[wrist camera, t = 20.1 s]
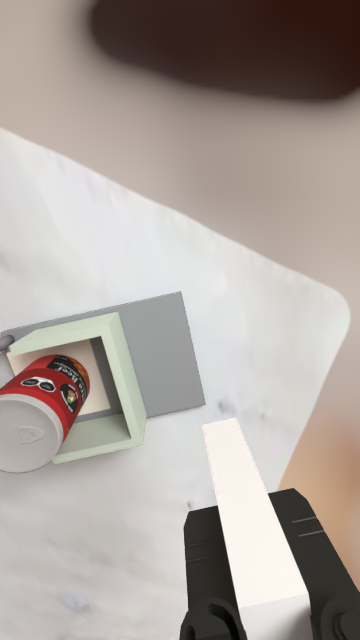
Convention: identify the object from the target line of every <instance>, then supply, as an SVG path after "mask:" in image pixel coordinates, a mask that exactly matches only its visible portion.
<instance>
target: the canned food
mask: <svg viewBox="0 0 360 640" xmlns="http://www.w3.org/2000/svg"><path fill="white" fill-rule="evenodd" d="M89 391H90V379H89V376H88V373H87V371H86V369H85V368H84V367H83V365H82V364H81V363H79V362H78V361H77V360H75V359H73V358H71V357H68V356H65V355H49V356H44V357H41V358H39V359H37V360H35V361H34V362H32V363H31V364H30V365H29V366H27V367H26V368H25V369H24V370H23V371H21V372H20V373H19V374H18V375H17V376H15V377H14V378H13V379H12V380H11V381H9V382H8V383H7V384H6V385H5V386H3V387H2V388H1V389H0V470H1V471H4V472H10V473H26V472H31V471H34V470H37V469H40V468H42V467H43V466H45V465H47V464H48V463H49V462H50V461H51V460H52V459H53V458H54V456H55V455H56V454H57V452H58V451H59V449H60V448H61V446H62V444H63V442H64V441H65V439H66V437H67V435H68V433H69V431H70V429H71V427H72V425H73V424H74V422H75V420H76V418H77V416H78V414H79V412H80V410H81V408H82V406H83V405H84V403H85V401H86V399H87V397H88V394H89Z"/></svg>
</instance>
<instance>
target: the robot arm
mask: <svg viewBox="0 0 360 640" xmlns="http://www.w3.org/2000/svg"><path fill="white" fill-rule="evenodd" d="M202 428H203V433H204V438H205V443H206V448H207V453H208V458H209V463H210V469H211V474H212V479H213V484H214V489H215V494H216V499H217V504H218V505H217V506H213V507H208V508H204V509H199V510H194V511H190V512H189V513H188V516H187V519H186V522H185V525H184V544H185V560H186V577H187V594H188V610H189V611H188V612H187V613H186V616H185V618H184V620H183V623H182V625H181V630H180V639H179V640H360V592H359V591H358V589H357V588H356V586H355V585H354V583H353V581H352V579H351V577H350V575H349V574H348V572H347V570H346V568H345V567H344V565H343V563H342V561H341V559H340V558H339V556H338V554H337V552H336V550H335V549H334V547H333V545H332V544H331V542H330V540H329V538H328V536H327V534H326V533H325V532H324V529H323V527H322V525H321V524H320V522H319V520H318V519H317V517H316V515H315V513H314V511H313V509H312V508H311V506H310V504H309V502H308V501H307V499H306V498H304V497H303V496H302V495H301V494H300V493H299V492H298V491H296V490H295V489H294V488H291V489H287V490H282V491H277V492H273V493H268V494H267V491H266V489H265V487H264V484H263V482H262V479H261V477H260V474H259V472H258V470H257V467H256V465H255V462H254V460H253V457H252V455H251V453H250V450H249V448H248V445H247V443H246V440H245V438H244V436H243V433H242V431H241V428H240V426H239V423H238V421H237V419H236V417H235V418H231V419H226V420H222V421H217V422H213V423H208V424H203V425H202Z"/></svg>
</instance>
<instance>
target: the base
mask: <svg viewBox="0 0 360 640" xmlns="http://www.w3.org/2000/svg"><path fill="white" fill-rule="evenodd" d="M113 312H118V313H119V316H120V320H121V324H122V327H123V331H124V334H125V338H126V342H127V345H128V349H129V353H130V356H131V360H132V364H133V367H134V371H135V374H136V378H137V382H138V385H139V389H140V393H141V396H142V400H143V403H144V407H145V411H146V414H147V416H146V418H147V417H151V416H156V415H160V414H165V413H170V412H174V411H179V410H183V409H188V408H192V407H197V406H202V405H206V403H205V399H204V394H203V390H202V385H201V380H200V376H199V371H198V367H197V362H196V357H195V353H194V348H193V344H192V339H191V334H190V330H189V325H188V321H187V316H186V311H185V307H184V302H183V298H182V293H181V291H180V292H176V293H171V294H167V295H162V296H158V297H153V298H149V299H144V300H140V301H135V302H131V303H126V304H122V305H117V306H113V307H108V308H104V309H99V310H95V311H90V312H86V313H81V314H77V315H72V316H68V317H63V318H59V319H54V320H50V321H45V322H41V323H36V324H32V325H27V326H23V327H18V328H14V329H9V330H5V331H3V332H1V333H0V334H1V337H2V338H1V339H0V351H2V350H3V349H5V348H6V350H7V352H8V353H6V354H7V357H8V359H9V362H10V364H11V367H12V370H13V372H14V375H15V376H17V375H18V374H19V373H20V372H21V371H23V370H24V369H25V368H26V367H27V366H29V365H30V364H31V363H32V362H34V361H35V360H37V359H39V358H41V357H44V356H49V355H65V356H68V357H71V358H73V359H75V360H77V361H78V362H79V363H81V364H82V365H83V367H84V368H85V369H86V371H87V373H88V376H89V379H90V391H89V394H88V397H87V399H86V401H85V403H84V405H83V406H82V408H81V410H80V412H79V414H78V416H77V418H76V420H75V422H74V423H79V422H83V421H88V420H92V419H97V418H102V417H106V416H111V415H115V414H120V413H124V412H123V408H122V405H121V401H120V398H119V395H118V391H117V388H116V385H115V381H114V378H113V374H112V371H111V368H110V364H109V361H108V358H107V354H106V351H105V347H104V344H103V341H102V337H101V336H98V337H94V338H89V339H85V340H80V341H76V342H71V343H67V344H62V345H58V346H53V347H49V348H44V349H40V350H35V351H31V352H26V353H22V354H17V355H13V356H12V353H11V350H10V348H9V346H10V345H12V344H13V343H15V342H16V341H18V340H20V339H21V338H23V337H25V336H26V335H28V334H30V333H31V332H33V331H34V330H37V329H41V328H46V327H50V326H55V325H59V324H64V323H68V322H73V321H77V320H82V319H86V318H91V317H95V316H100V315H104V314H109V313H113Z"/></svg>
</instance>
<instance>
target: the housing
mask: <svg viewBox="0 0 360 640" xmlns="http://www.w3.org/2000/svg"><path fill="white" fill-rule="evenodd" d="M98 336H101V337H102V341H103V344H104V347H105V351H106V354H107V358H108V361H109V364H110V368H111V371H112V374H113V378H114V381H115V385H116V388H117V391H118V395H119V398H120V401H121V405H122V408H123V412H124V413H120V414H115V415H111V416H106V417H102V418H97V419H92V420H88V421H83V422H79V423H74V424H73V425H72V427H71V429H70V431H69V433H68V435H67V437H66V439H65V441H64V442H63V444H62V446H61V448H60V449H59V451H58V452H57V454H56V455H55V456H54V458H53V459H52V461H53V463H54V464H58V463H63V462H68V461H72V460H77V459H81V458H86V457H90V456H95V455H100V454H104V453H109V452H113V451H118V450H123V449H127V448H132V447H136V446H141V445H143V440H144V432H145V424H146V416H147V414H146V411H145V407H144V403H143V400H142V396H141V393H140V389H139V385H138V382H137V378H136V374H135V371H134V367H133V364H132V360H131V356H130V353H129V349H128V345H127V342H126V338H125V334H124V331H123V327H122V324H121V320H120V316H119V313H118V312H113V313H109V314H104V315H100V316H95V317H91V318H86V319H82V320H77V321H73V322H68V323H64V324H59V325H55V326H50V327H46V328H41V329H37V330H34V331H33V332H31V333H30V334H28V335H26V336H25V337H23V338H21V339H20V340H18V341H16V342H15V343H13V344H12V345H10V346H9V348H10V350H11V353H12V356H13V355H17V354H22V353H26V352H31V351H35V350H40V349H44V348H49V347H53V346H58V345H62V344H67V343H71V342H76V341H80V340H85V339H89V338H94V337H98Z"/></svg>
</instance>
